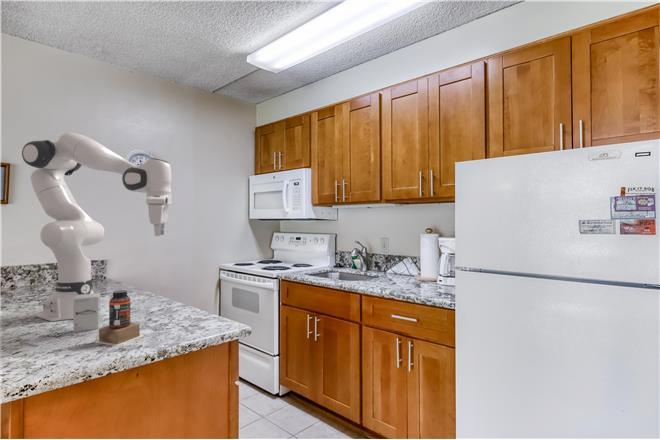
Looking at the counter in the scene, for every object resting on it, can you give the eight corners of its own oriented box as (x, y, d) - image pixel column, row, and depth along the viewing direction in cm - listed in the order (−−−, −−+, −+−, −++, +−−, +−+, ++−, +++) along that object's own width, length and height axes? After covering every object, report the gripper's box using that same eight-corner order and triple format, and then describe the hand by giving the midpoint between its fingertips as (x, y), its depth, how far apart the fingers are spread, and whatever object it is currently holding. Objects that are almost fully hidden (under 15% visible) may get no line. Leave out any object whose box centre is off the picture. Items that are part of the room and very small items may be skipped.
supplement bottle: (121, 329, 111) (120, 293, 111) (104, 328, 112) (104, 292, 112) (134, 323, 117) (134, 289, 117) (119, 322, 118) (118, 289, 118)
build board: (74, 344, 113) (74, 340, 113) (114, 330, 126) (114, 327, 126) (117, 351, 107) (117, 347, 107) (154, 336, 120) (154, 332, 120)
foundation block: (99, 341, 112) (98, 328, 112) (121, 333, 120) (121, 321, 120) (118, 344, 109) (118, 331, 109) (139, 336, 117) (139, 324, 117)
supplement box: (72, 335, 121) (72, 298, 121) (76, 329, 128) (76, 294, 127) (98, 332, 124) (98, 296, 124) (100, 326, 131) (100, 292, 131)
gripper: (155, 201, 148) (155, 234, 148) (145, 198, 128) (145, 236, 129) (171, 201, 150) (171, 234, 150) (164, 199, 130) (164, 236, 130)
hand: (159, 235), depth 139 cm, fingers open, 8 cm apart
